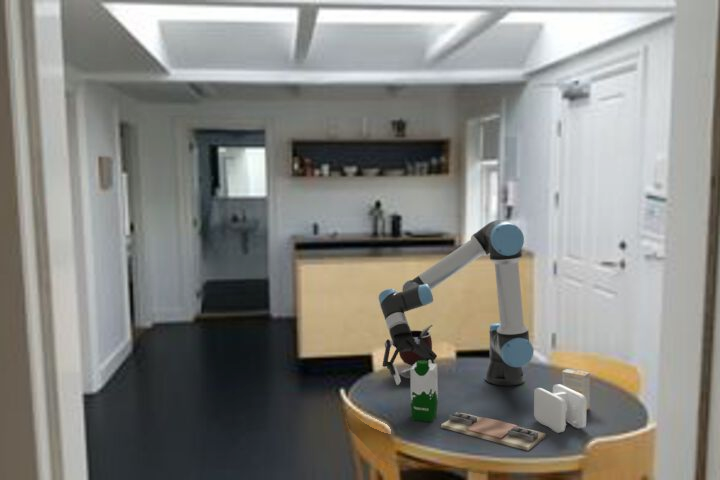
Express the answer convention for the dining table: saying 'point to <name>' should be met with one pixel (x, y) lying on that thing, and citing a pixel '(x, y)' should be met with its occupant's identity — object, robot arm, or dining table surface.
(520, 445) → the board with end clamps
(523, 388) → the dining table surface
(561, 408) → the cable organizer
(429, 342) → the mate gourd
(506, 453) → the dining table surface
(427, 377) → the soya milk
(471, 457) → the dining table surface
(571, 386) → the supplement box
